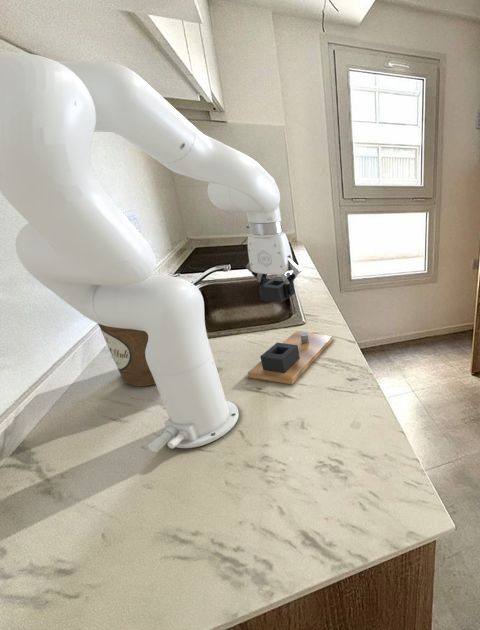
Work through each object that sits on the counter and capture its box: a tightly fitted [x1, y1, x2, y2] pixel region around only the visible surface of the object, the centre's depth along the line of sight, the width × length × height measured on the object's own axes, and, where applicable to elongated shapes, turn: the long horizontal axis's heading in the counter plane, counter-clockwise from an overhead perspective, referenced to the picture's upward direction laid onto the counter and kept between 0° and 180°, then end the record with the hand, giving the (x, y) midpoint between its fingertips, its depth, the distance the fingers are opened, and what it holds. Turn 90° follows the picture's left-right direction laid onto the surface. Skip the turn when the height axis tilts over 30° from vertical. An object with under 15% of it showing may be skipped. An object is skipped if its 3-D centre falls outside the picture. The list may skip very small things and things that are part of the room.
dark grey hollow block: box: [257, 277, 296, 303], centre depth 89 cm, size 7×6×4 cm
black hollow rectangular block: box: [259, 342, 300, 373], centre depth 84 cm, size 7×6×4 cm
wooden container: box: [97, 323, 156, 387], centre depth 80 cm, size 15×15×22 cm
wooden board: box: [247, 331, 334, 385], centre depth 89 cm, size 22×12×4 cm, turn 168°
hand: (278, 294), depth 90 cm, fingers closed on dark grey hollow block, 6 cm apart
